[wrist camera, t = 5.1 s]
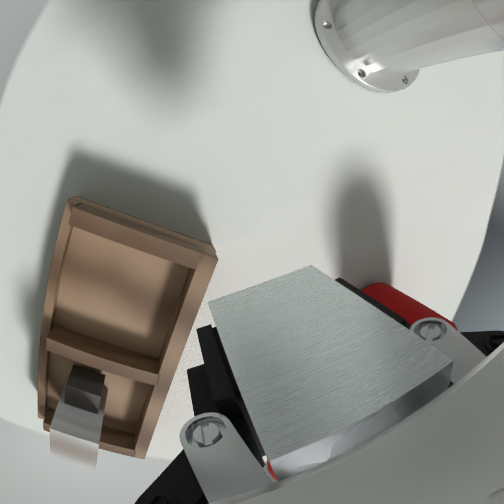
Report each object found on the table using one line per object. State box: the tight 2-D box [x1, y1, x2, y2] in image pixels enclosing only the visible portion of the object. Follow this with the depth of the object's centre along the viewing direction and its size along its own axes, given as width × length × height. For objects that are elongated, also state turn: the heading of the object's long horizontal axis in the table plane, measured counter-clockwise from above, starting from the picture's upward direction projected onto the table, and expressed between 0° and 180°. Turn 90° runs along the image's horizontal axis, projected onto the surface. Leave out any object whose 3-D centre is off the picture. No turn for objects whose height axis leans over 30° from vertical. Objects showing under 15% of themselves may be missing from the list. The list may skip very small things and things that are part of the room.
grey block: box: [208, 265, 454, 481], centre depth 9 cm, size 6×4×7 cm, turn 15°
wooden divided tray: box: [38, 196, 218, 470], centre depth 21 cm, size 22×12×9 cm, turn 157°
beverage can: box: [362, 283, 458, 331], centre depth 26 cm, size 7×7×12 cm
